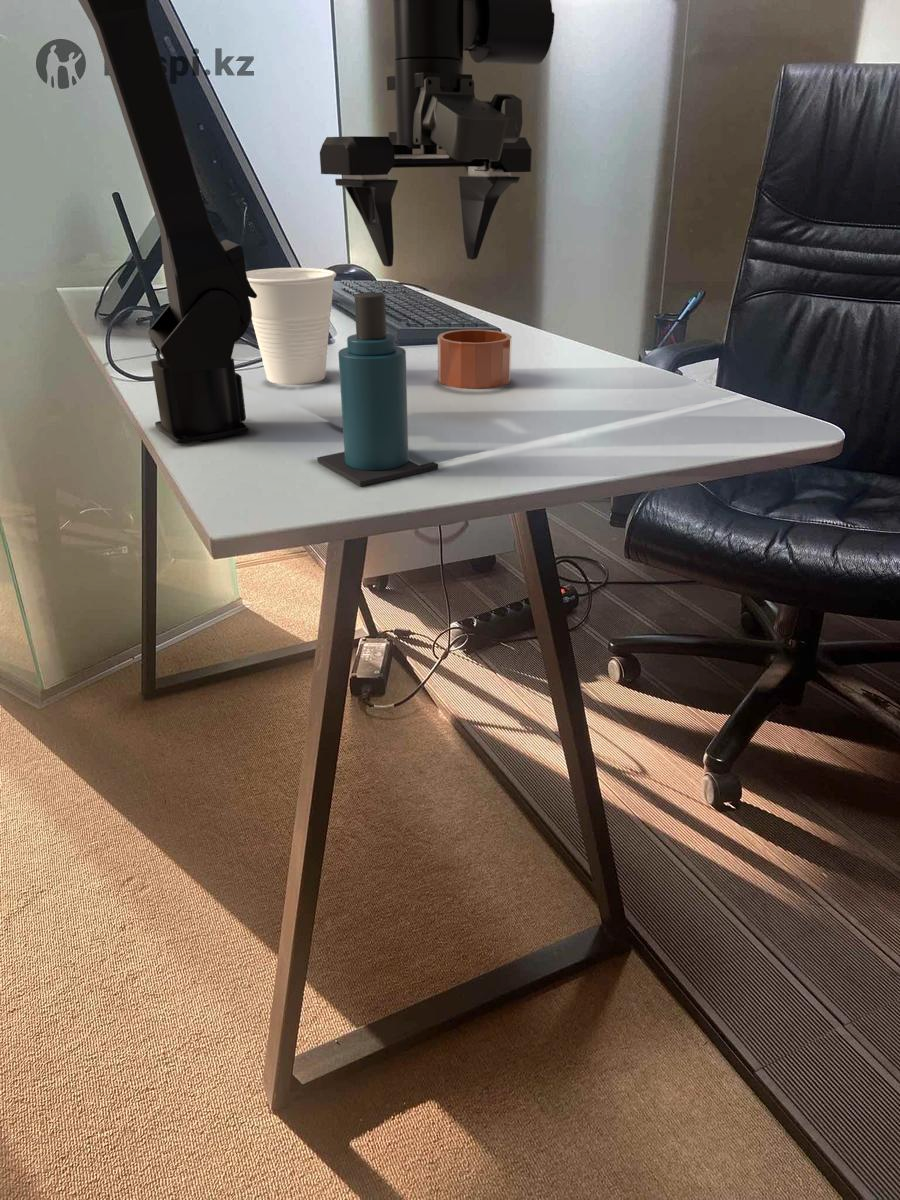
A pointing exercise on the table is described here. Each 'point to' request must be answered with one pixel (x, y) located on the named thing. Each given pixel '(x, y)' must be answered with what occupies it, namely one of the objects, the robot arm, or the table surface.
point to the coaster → (371, 477)
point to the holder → (474, 359)
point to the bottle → (373, 391)
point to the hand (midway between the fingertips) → (431, 262)
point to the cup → (292, 321)
